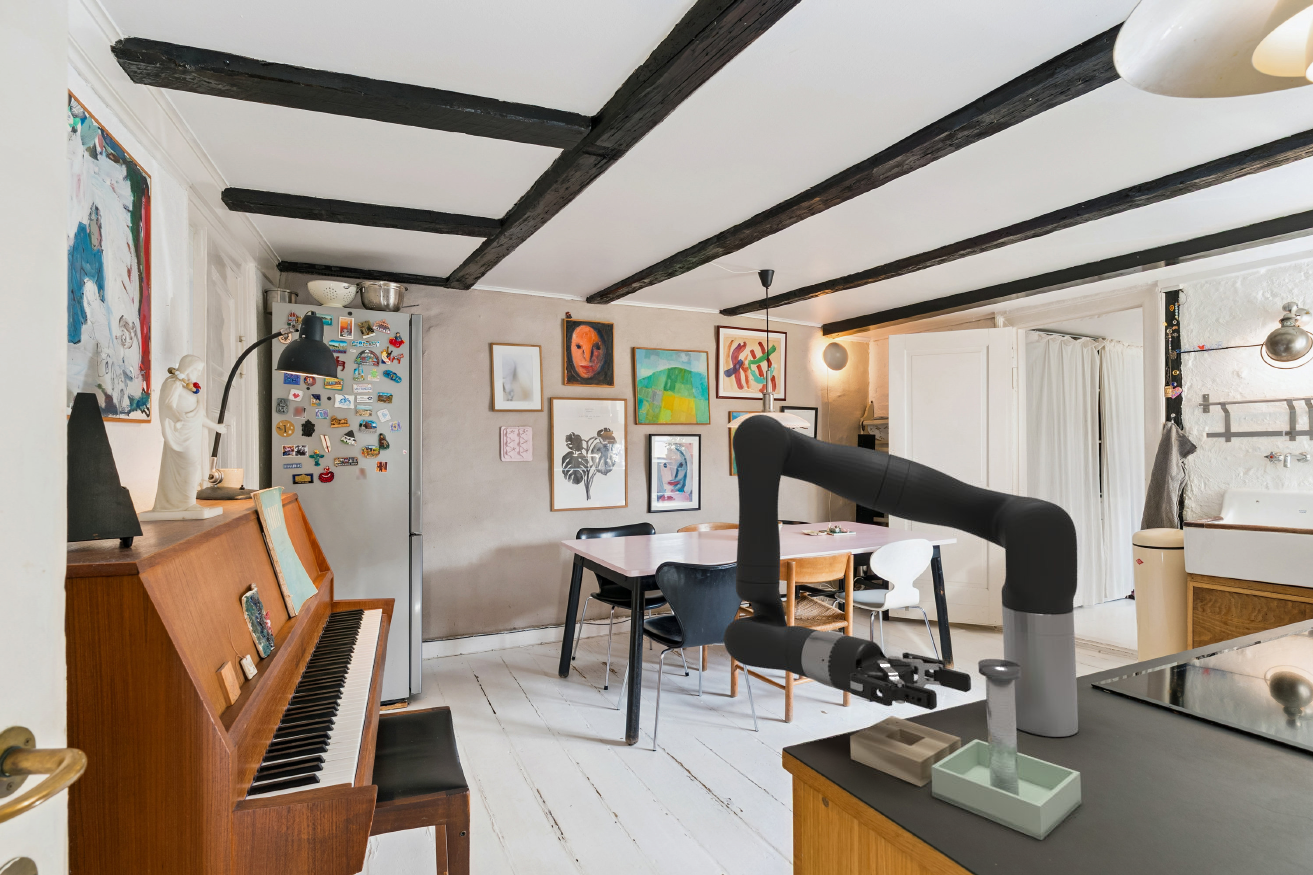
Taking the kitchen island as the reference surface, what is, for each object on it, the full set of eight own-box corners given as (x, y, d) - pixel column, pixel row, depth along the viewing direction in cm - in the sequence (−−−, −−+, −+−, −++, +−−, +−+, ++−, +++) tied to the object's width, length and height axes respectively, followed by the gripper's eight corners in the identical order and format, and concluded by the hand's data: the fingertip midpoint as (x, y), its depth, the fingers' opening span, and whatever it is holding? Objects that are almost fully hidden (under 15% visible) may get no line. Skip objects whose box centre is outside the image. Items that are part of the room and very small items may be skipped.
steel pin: (994, 780, 81) (988, 656, 81) (1032, 794, 78) (1027, 664, 78) (976, 793, 78) (971, 664, 79) (1016, 808, 75) (1010, 673, 75)
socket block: (892, 736, 95) (891, 715, 95) (961, 760, 88) (960, 737, 88) (850, 758, 89) (850, 735, 89) (921, 786, 81) (920, 761, 81)
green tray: (976, 766, 86) (975, 738, 86) (1081, 802, 77) (1080, 772, 77) (932, 795, 79) (931, 766, 79) (1041, 840, 70) (1040, 806, 70)
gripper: (809, 645, 91) (922, 674, 78) (869, 625, 100) (979, 649, 87) (811, 701, 91) (924, 739, 78) (871, 676, 100) (981, 707, 87)
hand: (953, 691), depth 83 cm, fingers open, 8 cm apart
